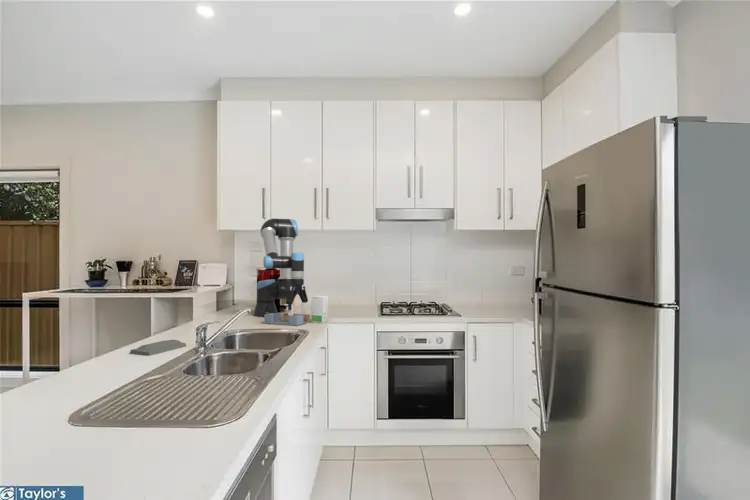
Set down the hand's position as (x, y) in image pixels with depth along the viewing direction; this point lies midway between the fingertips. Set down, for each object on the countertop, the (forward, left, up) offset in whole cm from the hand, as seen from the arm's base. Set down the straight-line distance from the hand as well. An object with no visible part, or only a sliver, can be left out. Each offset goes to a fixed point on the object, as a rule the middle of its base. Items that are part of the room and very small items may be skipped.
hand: (297, 314), depth 265 cm
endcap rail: (+9, -3, -5) cm, 10 cm away
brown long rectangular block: (0, 0, -5) cm, 5 cm away
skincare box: (-6, +12, -5) cm, 14 cm away
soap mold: (+93, -5, -5) cm, 93 cm away
